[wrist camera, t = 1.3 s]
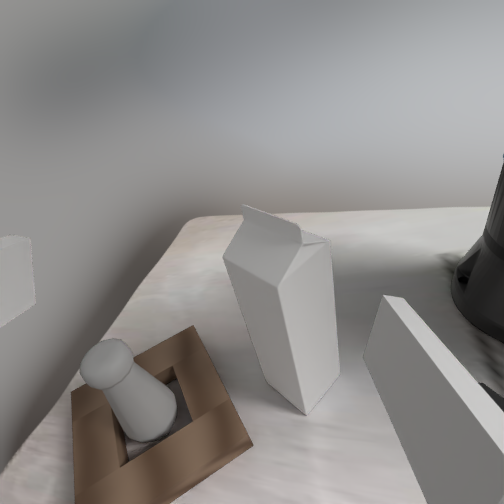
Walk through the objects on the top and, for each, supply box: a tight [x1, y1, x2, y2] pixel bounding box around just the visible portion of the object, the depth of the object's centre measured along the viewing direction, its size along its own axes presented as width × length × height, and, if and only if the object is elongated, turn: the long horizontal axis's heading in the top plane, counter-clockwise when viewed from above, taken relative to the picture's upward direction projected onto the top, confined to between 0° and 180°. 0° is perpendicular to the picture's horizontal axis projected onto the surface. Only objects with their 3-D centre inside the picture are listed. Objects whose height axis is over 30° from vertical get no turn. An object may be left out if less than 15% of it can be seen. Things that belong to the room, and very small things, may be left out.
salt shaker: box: [80, 339, 177, 442], centre depth 31 cm, size 6×6×13 cm
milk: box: [223, 204, 340, 416], centre depth 29 cm, size 6×6×22 cm
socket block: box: [71, 325, 253, 504], centre depth 34 cm, size 16×16×2 cm
